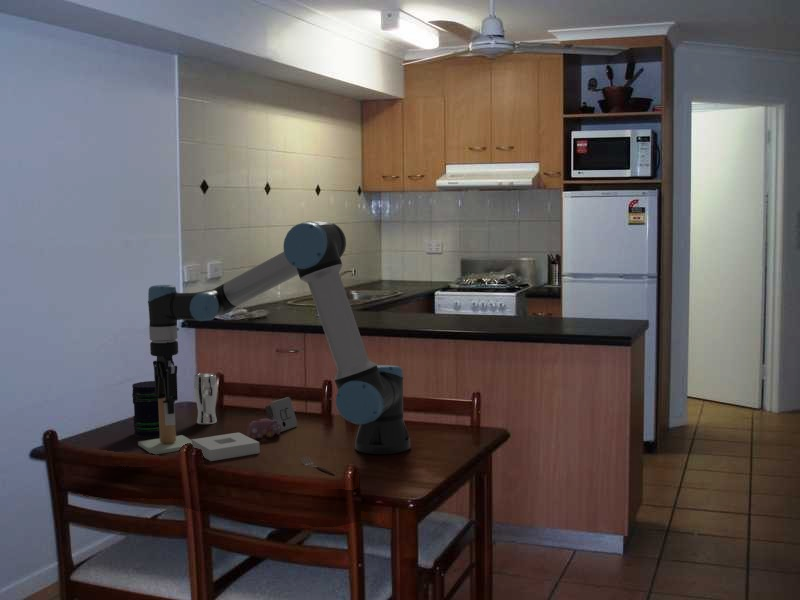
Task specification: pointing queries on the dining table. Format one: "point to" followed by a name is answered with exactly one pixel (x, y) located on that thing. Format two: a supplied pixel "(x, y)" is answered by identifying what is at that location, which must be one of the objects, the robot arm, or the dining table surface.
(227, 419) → the dining table surface
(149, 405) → the storage jar
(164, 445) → the mat
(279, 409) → the electrical switch
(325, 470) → the fork
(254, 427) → the pink animal figurine
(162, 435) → the plug
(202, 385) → the beer glass
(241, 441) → the white square flat box
